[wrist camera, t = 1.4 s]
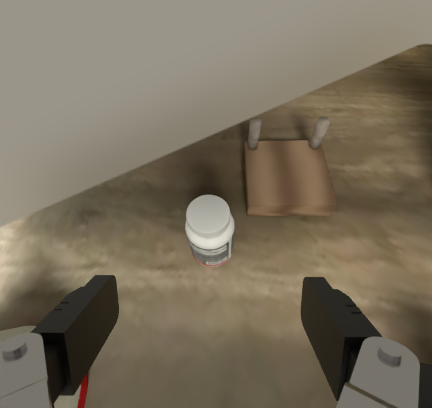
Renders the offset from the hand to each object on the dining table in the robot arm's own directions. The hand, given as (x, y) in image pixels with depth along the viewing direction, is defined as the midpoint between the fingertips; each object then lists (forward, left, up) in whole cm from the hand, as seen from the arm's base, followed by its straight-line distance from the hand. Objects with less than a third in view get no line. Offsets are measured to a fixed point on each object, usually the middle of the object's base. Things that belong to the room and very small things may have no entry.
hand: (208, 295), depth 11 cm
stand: (-10, -22, -22) cm, 33 cm away
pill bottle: (+1, -11, -23) cm, 25 cm away
